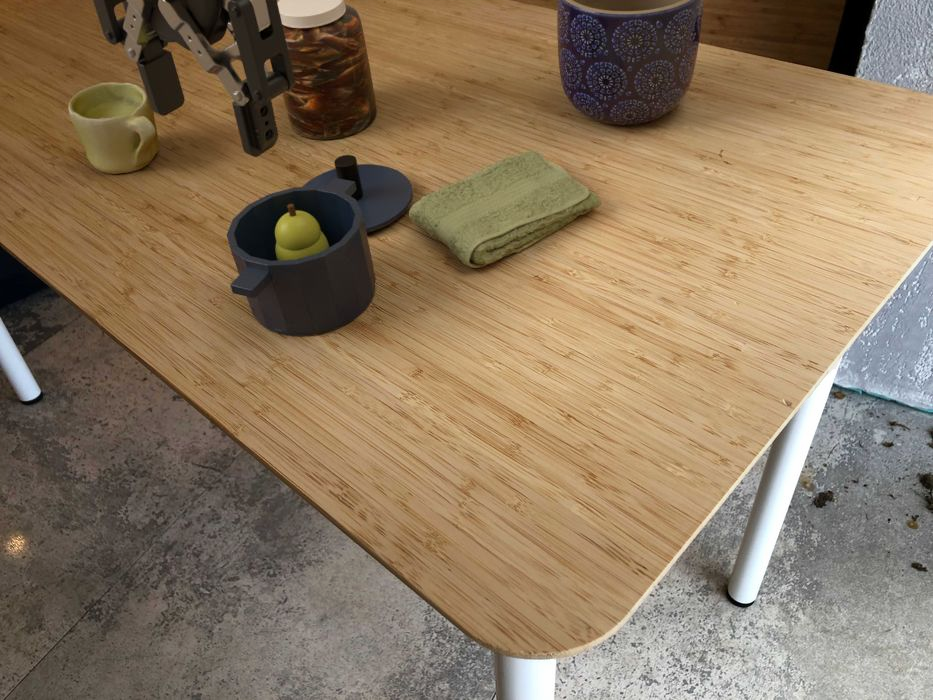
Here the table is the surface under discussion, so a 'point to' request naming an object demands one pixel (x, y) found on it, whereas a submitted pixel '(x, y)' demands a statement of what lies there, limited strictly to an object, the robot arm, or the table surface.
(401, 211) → the lid
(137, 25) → the robot arm
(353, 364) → the table surface
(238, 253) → the pot
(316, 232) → the pear
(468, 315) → the table surface
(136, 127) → the mug
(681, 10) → the planter
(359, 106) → the jar
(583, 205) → the washcloth
